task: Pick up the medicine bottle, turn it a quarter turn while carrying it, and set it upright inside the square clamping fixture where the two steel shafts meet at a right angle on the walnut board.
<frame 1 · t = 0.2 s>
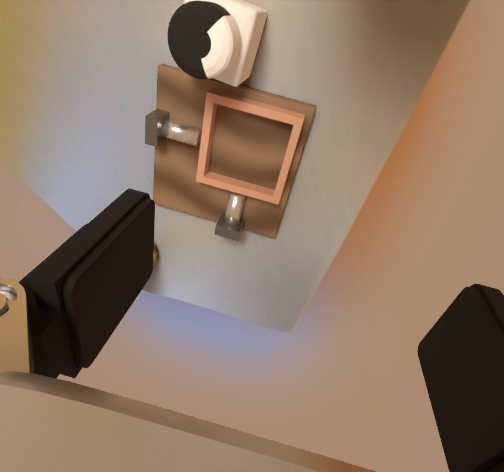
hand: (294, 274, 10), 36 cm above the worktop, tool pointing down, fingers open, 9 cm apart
square clamping fixture: (250, 143, 45), on the worktop
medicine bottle: (230, 34, 39), on the worktop
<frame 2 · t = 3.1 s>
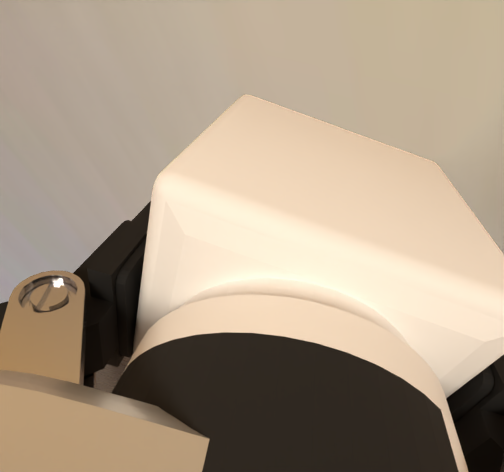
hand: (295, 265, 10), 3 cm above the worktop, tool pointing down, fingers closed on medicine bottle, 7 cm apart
square clamping fixture: (327, 398, 20), on the worktop
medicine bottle: (303, 208, 13), on the worktop, touching gripper
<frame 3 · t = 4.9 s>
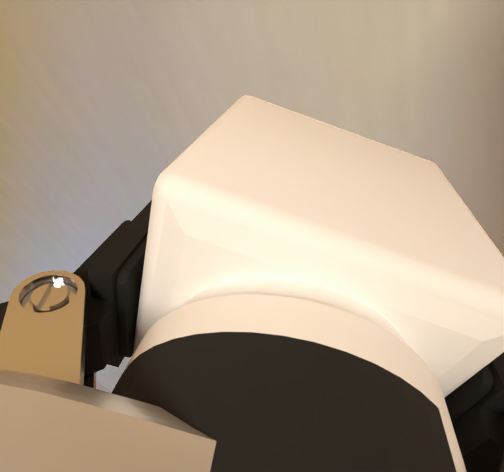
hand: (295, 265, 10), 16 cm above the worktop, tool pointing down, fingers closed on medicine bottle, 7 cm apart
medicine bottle: (302, 208, 13), point 12 cm above the worktop, touching gripper
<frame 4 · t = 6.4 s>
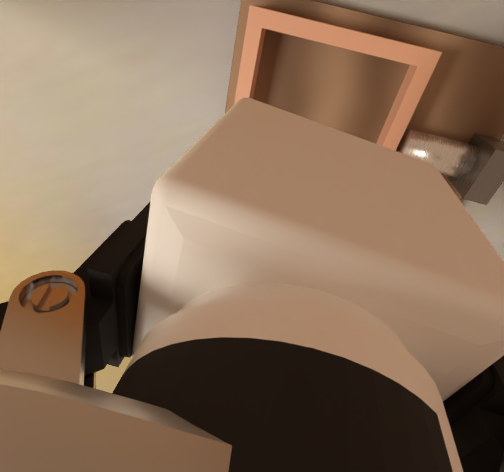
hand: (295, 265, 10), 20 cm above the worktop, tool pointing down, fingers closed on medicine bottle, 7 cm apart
square clamping fixture: (315, 113, 26), on the worktop
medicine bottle: (302, 210, 13), point 16 cm above the worktop, touching gripper
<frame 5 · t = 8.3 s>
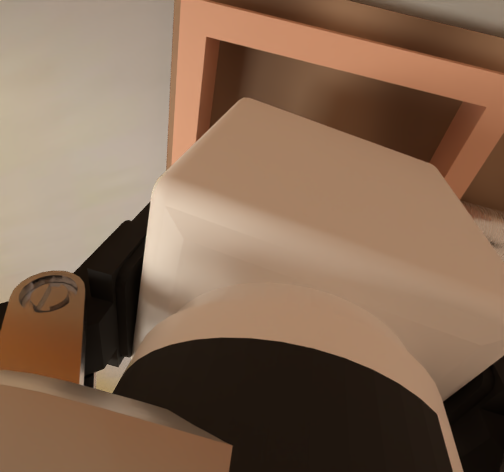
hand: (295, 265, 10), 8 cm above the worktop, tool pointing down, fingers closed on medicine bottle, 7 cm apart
square clamping fixture: (306, 165, 17), on the worktop
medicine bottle: (302, 210, 13), point 5 cm above the worktop, touching gripper
when the fingers open (7 cm above the worktop, at t = 9.6 s): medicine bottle drops 2 cm, resting on square clamping fixture.
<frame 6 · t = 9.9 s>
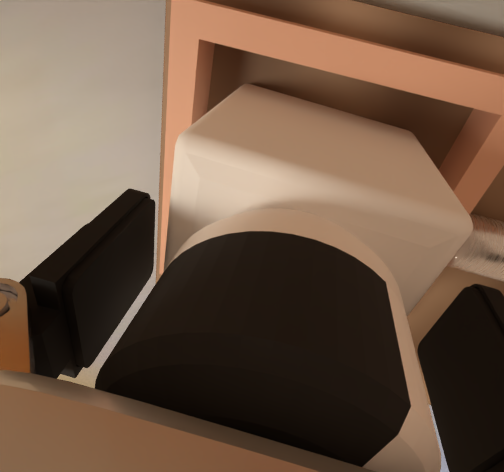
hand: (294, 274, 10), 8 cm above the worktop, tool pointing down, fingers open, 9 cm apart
square clamping fixture: (307, 173, 16), on the worktop
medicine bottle: (301, 182, 15), point 1 cm above the worktop, touching square clamping fixture
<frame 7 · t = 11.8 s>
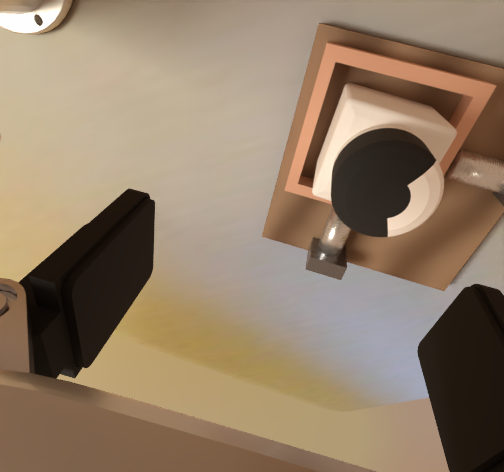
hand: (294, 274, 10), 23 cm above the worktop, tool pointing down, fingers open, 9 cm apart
square clamping fixture: (371, 133, 29), on the worktop
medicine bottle: (370, 136, 28), point 1 cm above the worktop, touching square clamping fixture
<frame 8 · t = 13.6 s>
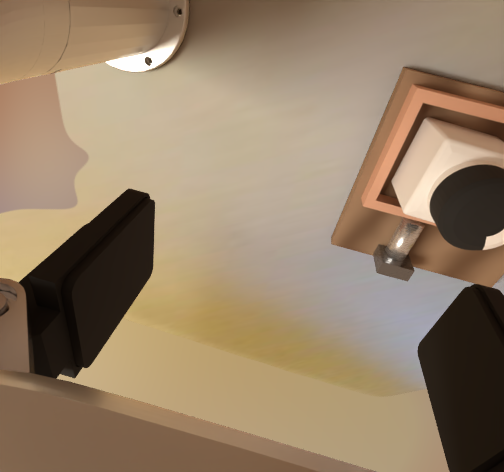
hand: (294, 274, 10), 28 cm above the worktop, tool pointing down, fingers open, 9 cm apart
square clamping fixture: (438, 156, 34), on the worktop
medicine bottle: (439, 159, 33), point 1 cm above the worktop, touching square clamping fixture
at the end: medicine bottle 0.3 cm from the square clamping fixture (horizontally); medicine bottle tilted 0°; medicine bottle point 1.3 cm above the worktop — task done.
